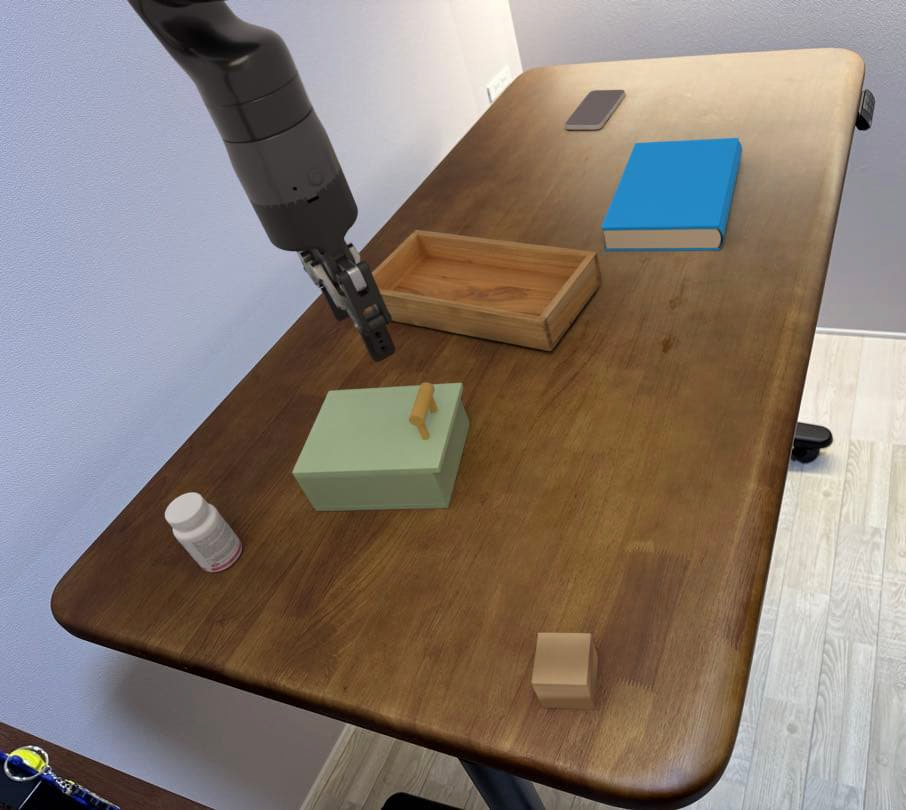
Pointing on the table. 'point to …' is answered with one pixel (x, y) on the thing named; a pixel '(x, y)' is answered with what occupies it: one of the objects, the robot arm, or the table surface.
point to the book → (674, 196)
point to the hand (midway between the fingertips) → (365, 335)
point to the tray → (487, 287)
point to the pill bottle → (203, 532)
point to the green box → (392, 483)
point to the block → (565, 670)
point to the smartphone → (595, 109)
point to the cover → (381, 431)
